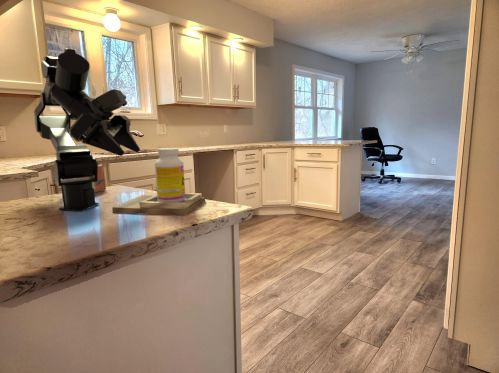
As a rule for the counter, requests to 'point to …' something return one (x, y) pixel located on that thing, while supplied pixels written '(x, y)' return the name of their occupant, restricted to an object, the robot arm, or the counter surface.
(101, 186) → the small box
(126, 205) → the brown shallow tray
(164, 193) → the supplement bottle
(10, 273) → the counter surface
